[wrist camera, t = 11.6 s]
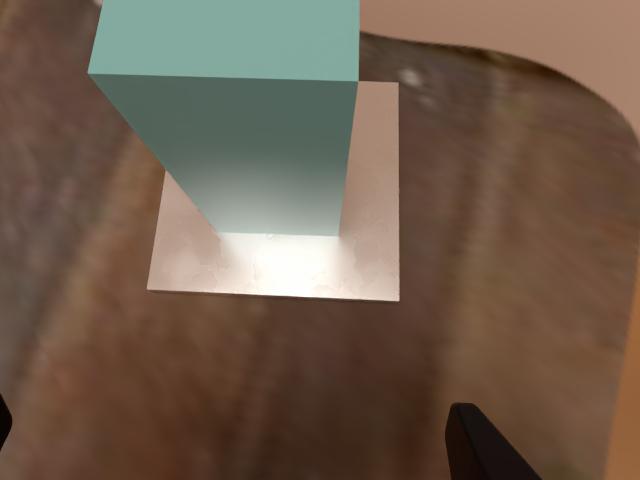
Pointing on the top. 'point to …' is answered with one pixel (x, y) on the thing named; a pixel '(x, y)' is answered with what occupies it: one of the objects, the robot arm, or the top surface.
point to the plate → (299, 250)
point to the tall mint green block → (239, 102)
